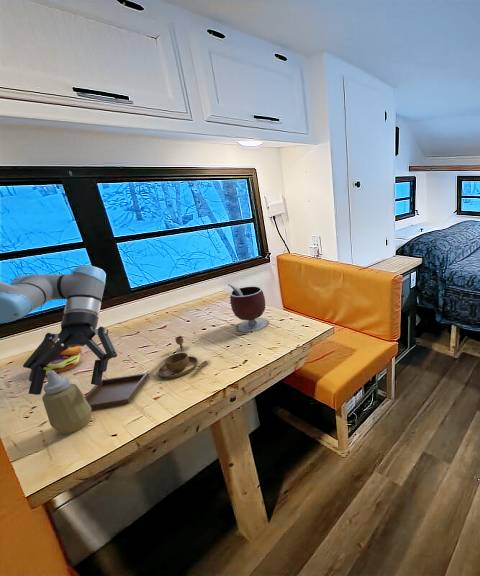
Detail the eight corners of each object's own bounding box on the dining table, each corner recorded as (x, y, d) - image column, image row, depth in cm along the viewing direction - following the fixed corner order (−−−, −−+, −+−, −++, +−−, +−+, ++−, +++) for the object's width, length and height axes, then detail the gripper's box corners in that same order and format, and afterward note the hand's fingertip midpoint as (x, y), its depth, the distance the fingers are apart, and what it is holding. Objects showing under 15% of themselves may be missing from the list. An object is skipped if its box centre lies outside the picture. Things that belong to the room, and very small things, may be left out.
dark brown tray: (75, 413, 88) (72, 407, 88) (103, 384, 101) (101, 379, 100) (129, 404, 91) (127, 399, 91) (149, 377, 104) (148, 372, 103)
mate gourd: (275, 320, 143) (268, 280, 136) (256, 335, 130) (248, 291, 124) (246, 318, 147) (238, 278, 140) (226, 331, 134) (216, 289, 127)
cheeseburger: (32, 376, 106) (28, 348, 105) (68, 365, 116) (65, 339, 115) (56, 377, 104) (53, 349, 103) (90, 366, 115) (87, 340, 114)
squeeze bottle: (46, 439, 80) (16, 382, 74) (75, 416, 87) (49, 362, 81) (78, 437, 80) (50, 380, 74) (103, 415, 88) (80, 361, 81)
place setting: (142, 380, 102) (136, 365, 100) (179, 348, 121) (176, 335, 119) (193, 379, 102) (189, 364, 100) (223, 348, 121) (220, 335, 119)
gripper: (137, 314, 96) (128, 382, 87) (40, 325, 90) (20, 399, 82) (123, 305, 89) (111, 378, 81) (17, 316, 84) (-7, 396, 75)
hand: (65, 389), depth 81 cm, fingers open, 13 cm apart
